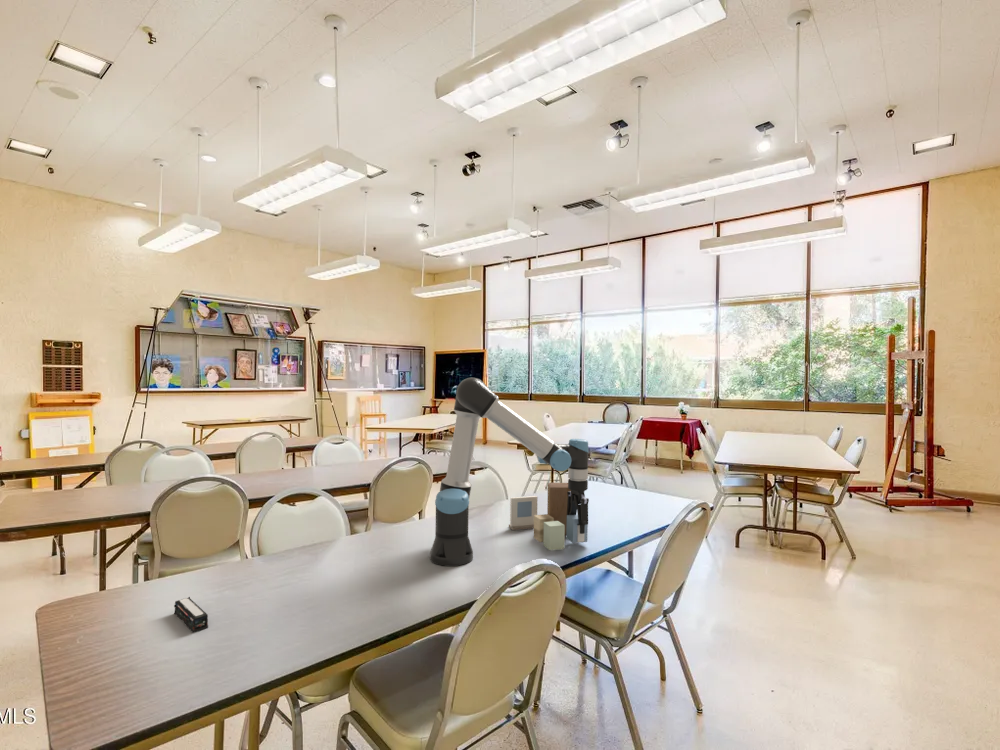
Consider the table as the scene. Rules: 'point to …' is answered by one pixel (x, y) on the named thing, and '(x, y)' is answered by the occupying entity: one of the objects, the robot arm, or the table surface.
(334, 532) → the table surface
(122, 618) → the table surface
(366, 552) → the table surface
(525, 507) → the placard
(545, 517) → the maple block
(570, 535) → the slate blue block
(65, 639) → the table surface
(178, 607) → the bus
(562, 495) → the wooden block
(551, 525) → the sage block
